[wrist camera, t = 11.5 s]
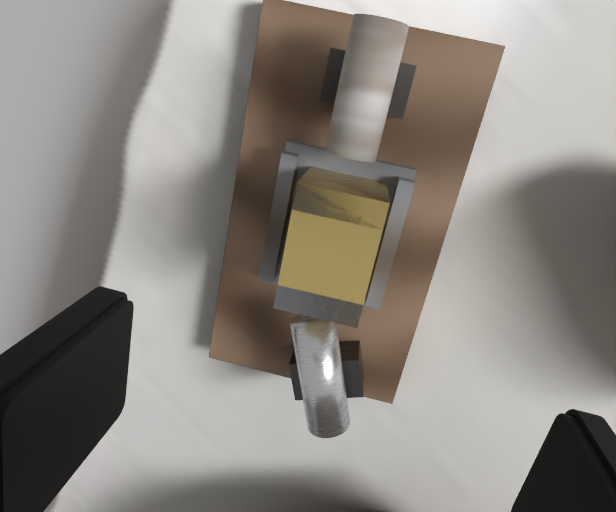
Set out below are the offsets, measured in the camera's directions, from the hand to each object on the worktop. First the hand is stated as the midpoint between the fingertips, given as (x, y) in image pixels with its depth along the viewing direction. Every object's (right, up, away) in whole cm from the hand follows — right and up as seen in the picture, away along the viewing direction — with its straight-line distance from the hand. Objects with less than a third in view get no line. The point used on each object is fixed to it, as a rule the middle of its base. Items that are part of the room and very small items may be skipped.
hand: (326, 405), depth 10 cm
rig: (+1, +5, +18) cm, 19 cm away
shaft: (+1, -2, +19) cm, 19 cm away
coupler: (+1, +5, +16) cm, 16 cm away
